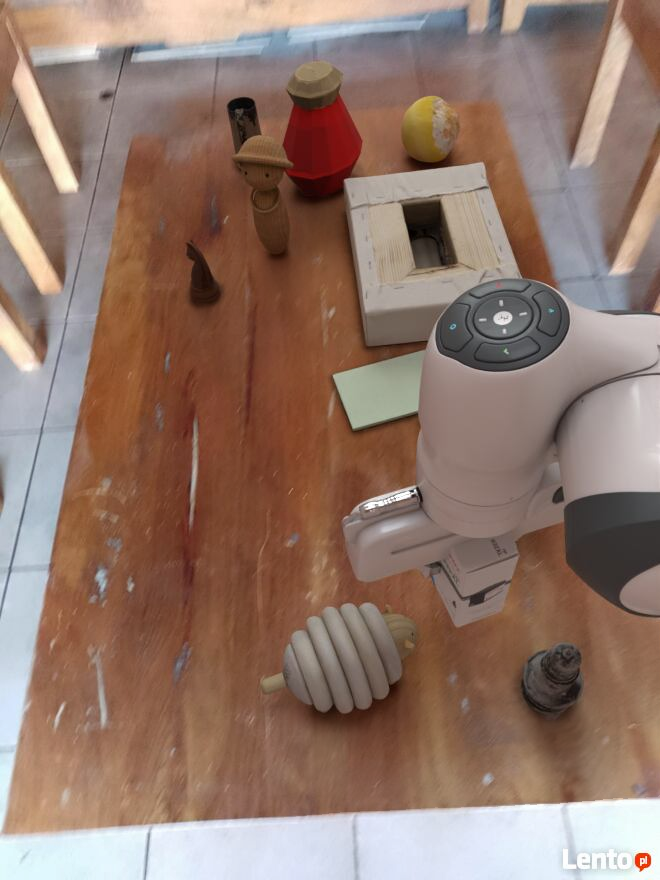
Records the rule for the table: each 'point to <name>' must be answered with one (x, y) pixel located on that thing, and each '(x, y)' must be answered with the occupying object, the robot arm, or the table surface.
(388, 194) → the box
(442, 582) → the ink box
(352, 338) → the table surface
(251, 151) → the figurine
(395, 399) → the mat
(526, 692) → the dark grey tiered post
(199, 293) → the chess piece
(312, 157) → the bottle
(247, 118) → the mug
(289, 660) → the toy sheep
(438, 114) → the fruit
